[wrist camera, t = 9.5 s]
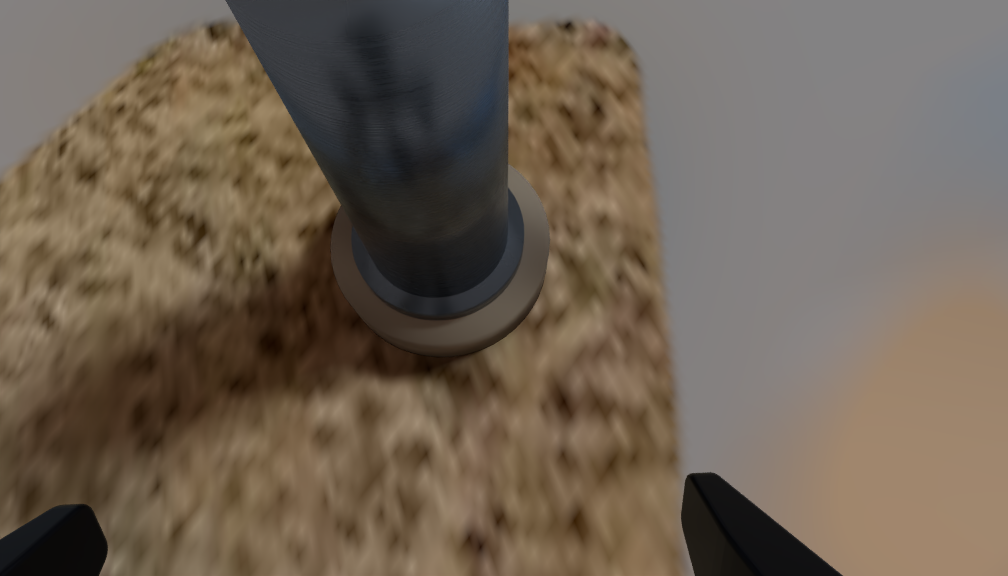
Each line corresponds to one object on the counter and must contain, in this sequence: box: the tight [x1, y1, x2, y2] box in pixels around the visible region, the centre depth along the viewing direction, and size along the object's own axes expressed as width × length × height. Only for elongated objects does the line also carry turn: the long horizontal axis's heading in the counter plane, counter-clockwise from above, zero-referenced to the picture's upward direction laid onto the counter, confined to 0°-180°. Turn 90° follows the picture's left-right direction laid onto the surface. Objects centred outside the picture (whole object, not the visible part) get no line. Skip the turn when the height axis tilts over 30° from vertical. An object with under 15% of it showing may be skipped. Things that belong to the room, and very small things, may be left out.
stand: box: [331, 164, 550, 357], centre depth 23 cm, size 8×8×2 cm
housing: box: [226, 0, 524, 321], centre depth 15 cm, size 6×6×14 cm
